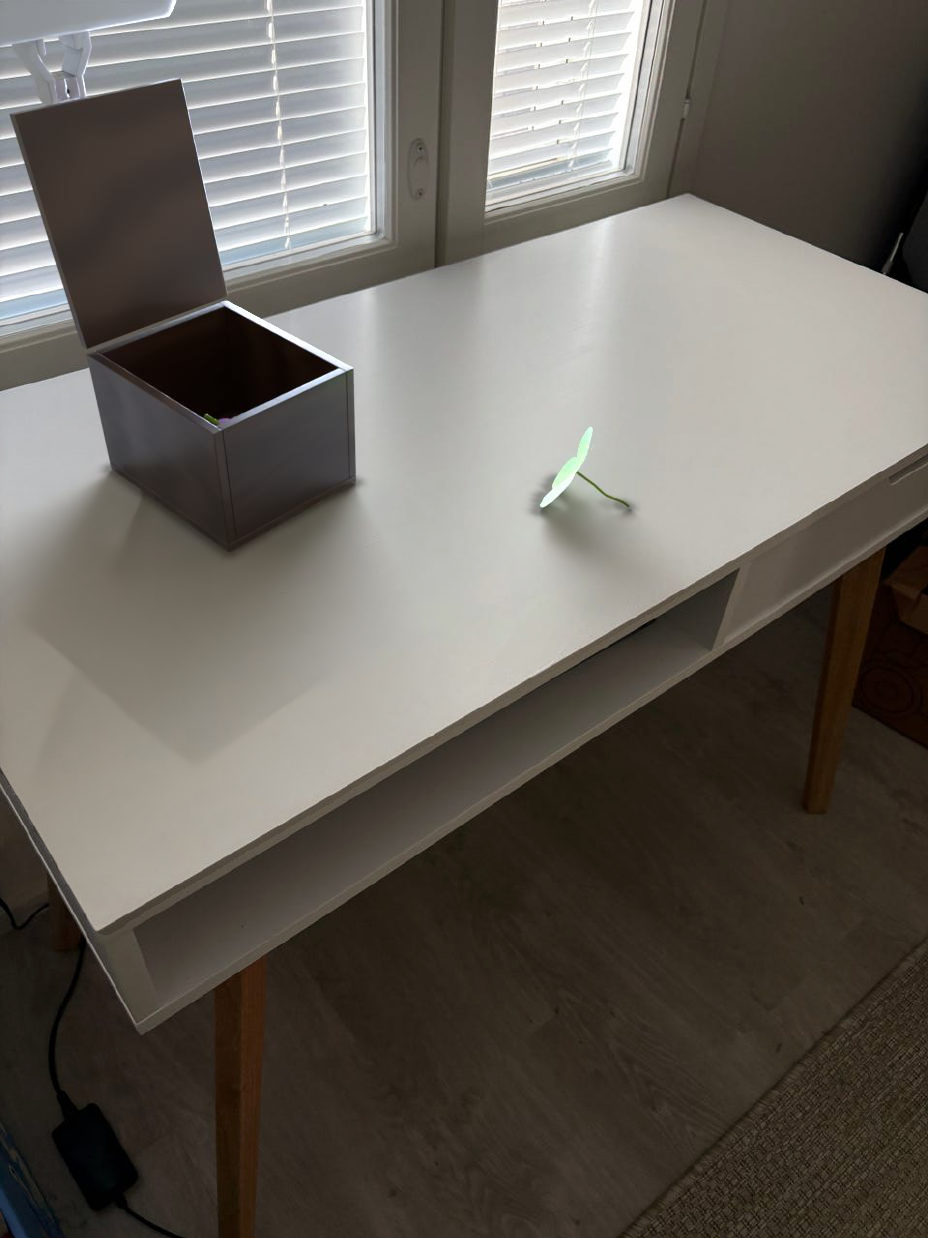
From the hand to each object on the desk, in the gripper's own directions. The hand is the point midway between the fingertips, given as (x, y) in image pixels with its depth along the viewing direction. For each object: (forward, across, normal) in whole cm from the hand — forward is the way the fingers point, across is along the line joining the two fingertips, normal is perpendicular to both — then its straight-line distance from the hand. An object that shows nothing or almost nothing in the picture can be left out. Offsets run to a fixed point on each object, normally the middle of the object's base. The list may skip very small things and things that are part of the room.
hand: (63, 101), depth 75 cm
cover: (+6, 0, -7) cm, 10 cm away
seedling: (+26, +18, -39) cm, 50 cm away
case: (+26, 0, -16) cm, 30 cm away
